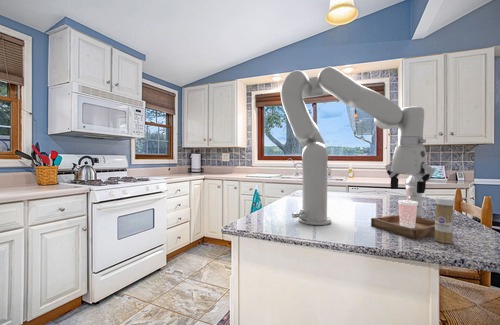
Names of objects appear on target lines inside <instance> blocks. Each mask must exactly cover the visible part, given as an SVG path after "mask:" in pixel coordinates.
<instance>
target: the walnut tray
mask: <svg viewBox="0 0 500 325" xmlns="http://www.w3.org/2000/svg"><path fill="white" fill-rule="evenodd" d="M370 219H371V220H370V221H371V222H370V226H371V228H372V227H373V228H375V229H379V230H381V231H386V232H388V233H391V234H395V235H396V236H401V237H404V238H407V239H411V240H413V241H414V240H419V239H424V238H428V237H435V219H434V220H433V219H428V218H423V217H416V222H415V228H408V227H405V226H401V225H400V218H399V213H398V214H392V215H385V216H384V215H383V216H379V217H378V216H377V217H371V218H370Z"/></svg>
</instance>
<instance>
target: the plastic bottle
mask: <svg viewBox="0 0 500 325" xmlns="http://www.w3.org/2000/svg"><path fill="white" fill-rule="evenodd" d="M418 181H419V180H418V178H417V177H416V175H408V177H407V178H406V179H405V182H404V185H405V191H406V194H405V195H406V196H407V187H409V200H411V201H416V202H418V205H417V212H416V217H421V218H423V216H424V208H423V193H417V182H418ZM405 200H407V198H406V199H405Z"/></svg>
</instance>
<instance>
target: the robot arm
mask: <svg viewBox="0 0 500 325" xmlns="http://www.w3.org/2000/svg"><path fill="white" fill-rule="evenodd" d="M329 95H332V96H333V97H334V98H336V99H337V100H338V101H340V102H341V103H343V104H344V105H345V106H348V107H349V108H356V109H358V110H360V111H363V112H364V113H366V114H368V115H369V116H371V117H372V118H374V119H373V121H374V124H375V126H376V127H377V128H378V129H381V130H382V129H383V130H389V129H397V143H396V146H395V148H394V152H393V155H392V162H390V163H389V164H387V165H385V167H384V168H385V170H386V173H387V175H388V176H389V178H390V189H391V190H398V189H399V178H398V177H399V175H408V176H410V175H416V177H417V178H418V180H419V181H418V182H417V193H422V194H424V193H425V191H426V186H427V185H426V184H427V182H428V181H429V180H430V179H431V178H432V176H433V175H434V173H435V171H436V169H435V168H434V167H432V166H429V164H428V162H427V151H426V147H425V146H423V144H426V141H427V139H426V138H424V126H425V125H424V122H425V109H424V108H423V107H421V106H406V107H402V108H401V107H400V106H399V105H398V104H396V103H395V102H394V101H392V100H391V99H389V98H388V97H386V96H384V95H383V94H381V93H380V92H378V91H375V90H373V89H371V88H369V87H366V86H364V85H361V84H360V83H359V82H357V81H356V80H354V79H353V78H351V77H349V76H348V75H347V74H345V73H343V72H342V71H341V70H339V69H337V68H335V67H333V66H325V67H323V69H321V70H320V71H319V73H318V75H317V76H312V77H309V76H308V75H307V73H305V72H304V71H302V70H297V69H296V70H293V71H291V72H290V73H288V74H287V75H286V77H285V78H284V80H283V82H282V85H281V88H280V100H281V104H282V108H283V110H284V112H285V115H286V118H287V120H288V122H289V125H290V127H291V130H292V132H293V136H294V137H295V139H297V140H298V141H299V143H300V146H301V148H302V153H301V163H302V206H301V207H302V208H301V209H300V210H299V211H298V212H292V213H291V217H292V219H295V218H296V219H298V221H299V222H300V223H303V224H306V225H309V226H310V225H311V226H325V225H329V224H331V223H332V219H331V217H330V216H329V217H328V158H329V150H328V148H327V145H326V143H325V141H324V138H323V136H322V134H321V132H320V130H319V127H318V125H317V124H316V122H315V121H314V120H313V119H312V116H311V114H310V112H309V109H308V108H307V105H306V103H305V100H304V99H308V98H316V97H322V96H329Z"/></svg>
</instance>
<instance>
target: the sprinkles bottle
mask: <svg viewBox="0 0 500 325" xmlns="http://www.w3.org/2000/svg"><path fill="white" fill-rule="evenodd" d="M434 201H435V218H434V221H435V235H434V238H433V239H434V241H436V242H438V243H443V244H453V232H454V207H455V199H454V198H452V197H442V196H437V197H435V200H434Z"/></svg>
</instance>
